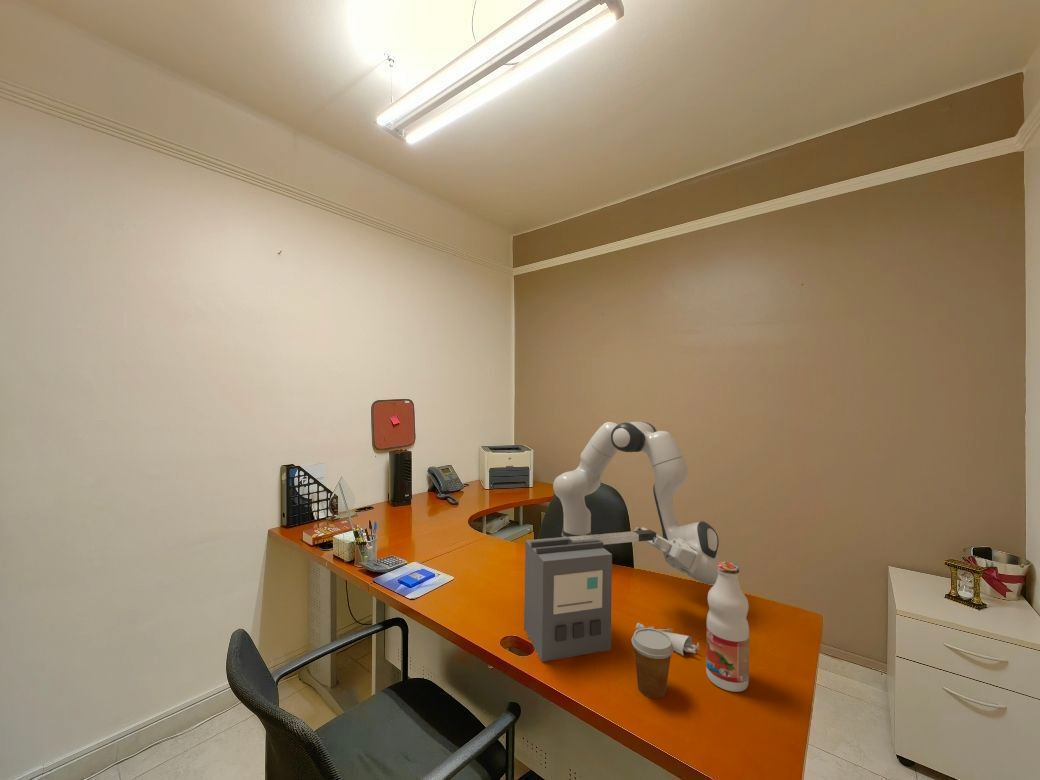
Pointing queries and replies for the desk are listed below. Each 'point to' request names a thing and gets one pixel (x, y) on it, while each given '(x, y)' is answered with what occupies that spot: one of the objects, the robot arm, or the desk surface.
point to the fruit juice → (727, 631)
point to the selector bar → (615, 537)
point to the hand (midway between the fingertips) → (645, 534)
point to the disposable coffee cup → (652, 660)
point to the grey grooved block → (567, 597)
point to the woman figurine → (676, 640)
